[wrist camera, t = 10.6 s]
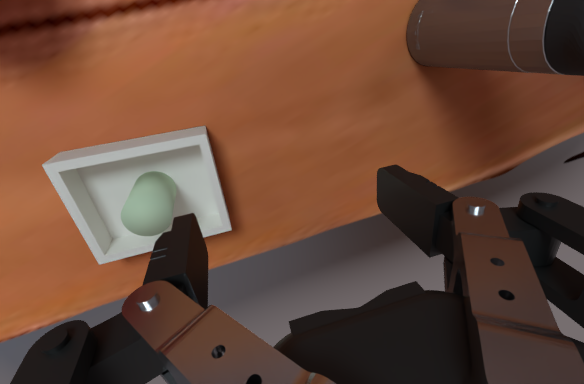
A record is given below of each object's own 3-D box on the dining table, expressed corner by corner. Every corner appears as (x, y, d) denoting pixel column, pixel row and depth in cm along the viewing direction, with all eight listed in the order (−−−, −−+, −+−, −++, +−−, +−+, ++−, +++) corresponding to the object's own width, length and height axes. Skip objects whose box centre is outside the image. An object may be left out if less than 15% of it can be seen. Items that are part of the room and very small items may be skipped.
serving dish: (205, 125, 35) (206, 133, 31) (229, 214, 41) (231, 230, 37) (59, 152, 31) (41, 165, 28) (108, 244, 38) (99, 264, 34)
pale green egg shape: (169, 167, 35) (162, 191, 29) (181, 200, 37) (177, 229, 31) (127, 176, 34) (112, 203, 28) (143, 210, 36) (131, 241, 30)
